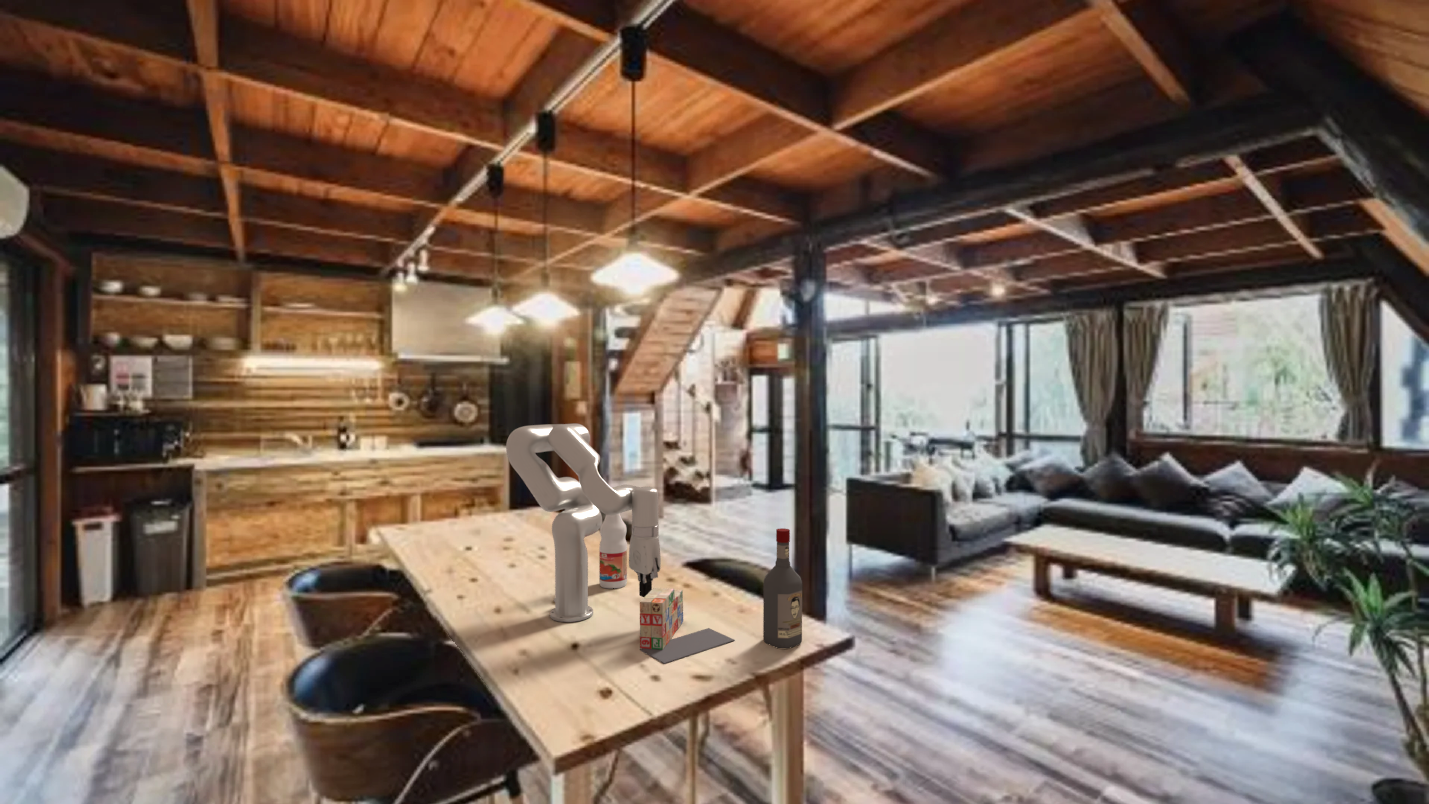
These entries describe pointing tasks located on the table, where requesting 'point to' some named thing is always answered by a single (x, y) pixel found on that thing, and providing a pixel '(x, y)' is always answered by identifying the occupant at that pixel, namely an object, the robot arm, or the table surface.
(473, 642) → the table surface
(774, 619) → the liquor
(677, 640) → the mat
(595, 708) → the table surface
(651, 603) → the stack of blocks
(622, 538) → the fruit juice
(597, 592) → the table surface
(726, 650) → the table surface
